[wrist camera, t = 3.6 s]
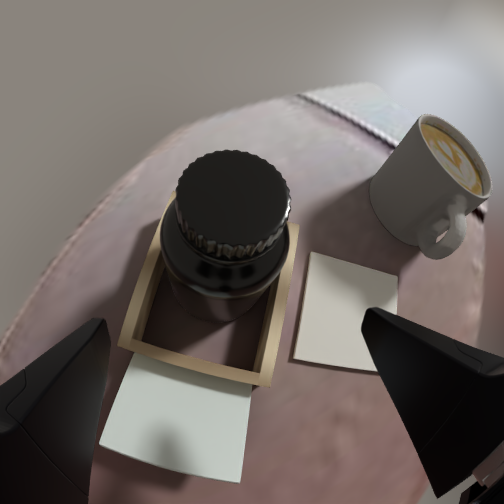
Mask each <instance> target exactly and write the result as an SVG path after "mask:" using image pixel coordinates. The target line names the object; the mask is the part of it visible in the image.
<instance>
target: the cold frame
mask: <svg viewBox="0 0 504 504" xmlns="http://www.w3.org/2000/svg"><path fill="white" fill-rule="evenodd" d="M175 197H176V192H175V191H173V192H172V195H171V197H170V199H169V202H168V204H167V206H166V209H165V211H164V213H163V216H164V214H165V212H166V210H167V208H168V206H169V205H170V203H171V202H172V201H173V200H174V198H175ZM163 216H162V218H161V220H160V223H159V225H158V228H157V230H156V233H155V235H154V238H153V240H152V243H151V246H150V248H149V251H148V253H147V256H146V259H145V261H144V264H143V267H142V270H141V272H140V275H139V278H138V281H137V284H136V287H135V289H134V292H133V295H132V298H131V301H130V304H129V308H128V311H127V314H126V317H125V320H124V323H123V327H122V330H121V333H120V337H119V340H118V344H117V346H119V347H122V348H124V349H127V350H130V351H133V352H136V353H139V354H142V355H145V356H148V357H151V358H154V359H157V360H160V361H163V362H166V363H170V364H173V365H176V366H180V367H183V368H187V369H190V370H194V371H198V372H202V373H205V374H209V375H213V376H217V377H222V378H226V379H230V380H235V381H239V382H244V383H249V384H254V385H259V386H264V387H269V388H270V384H271V379H272V375H273V370H274V365H275V360H276V356H277V351H278V346H279V341H280V336H281V330H282V325H283V320H284V315H285V309H286V304H287V298H288V293H289V287H290V281H291V276H292V270H293V264H294V258H295V252H296V246H297V239H298V233H299V226H300V225H297V224H294V223H291V222H287V224H288V228H289V234H290V246H289V252H288V256H287V259H286V262H285V264H284V266H283V268H282V270H281V271H280V273H279V274H278V276H277V277H276V278H275V280H274V281H273V282H272V283H271V287H270V292H269V297H268V301H267V306H266V311H265V316H264V321H263V325H262V330H261V335H260V339H259V344H258V349H257V353H256V358H255V362H254V367H253V371H252V372H251V371H247V370H242V369H238V368H233V367H229V366H225V365H221V364H217V363H213V362H209V361H205V360H201V359H197V358H194V357H190V356H187V355H183V354H180V353H176V352H173V351H170V350H166V349H163V348H160V347H157V346H153V345H150V344H147V343H144V342H141V340H142V337H143V333H144V330H145V326H146V323H147V320H148V316H149V313H150V310H151V307H152V303H153V300H154V297H155V294H156V291H157V288H158V285H159V282H160V279H161V276H162V273H163V270H164V267H165V263H164V260H163V256H162V252H161V246H160V227H161V222H162V219H163Z"/></svg>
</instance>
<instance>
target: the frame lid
mask: <svg viewBox="0 0 504 504" xmlns="http://www.w3.org/2000/svg"><path fill="white" fill-rule="evenodd" d="M251 392H252V384H249V383H244V382H239V381H235V380H230V379H226V378H222V377H217V376H213V375H209V374H205V373H202V372H198V371H194V370H190V369H187V368H183V367H180V366H176V365H173V364H170V363H166V362H163V361H160V360H157V359H154V358H151V357H148V356H145V355H142V354H139V353H136V352H134V355H133V357H132V359H131V362H130V364H129V366H128V369H127V371H126V374H125V376H124V378H123V381H122V383H121V386H120V388H119V391H118V393H117V396H116V399H115V401H114V404H113V406H112V409H111V412H110V414H109V417H108V420H107V422H106V425H105V428H104V430H103V433H102V436H101V439H100V442H99V445H100V446H102V447H104V448H107V449H109V450H112V451H114V452H117V453H119V454H122V455H125V456H127V457H130V458H133V459H136V460H139V461H142V462H145V463H148V464H151V465H155V466H158V467H161V468H165V469H168V470H172V471H176V472H180V473H184V474H188V475H192V476H197V477H202V478H207V479H212V480H217V481H223V482H229V483H236V484H238V483H240V479H241V472H242V464H243V456H244V449H245V441H246V433H247V425H248V417H249V408H250V400H251Z"/></svg>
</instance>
